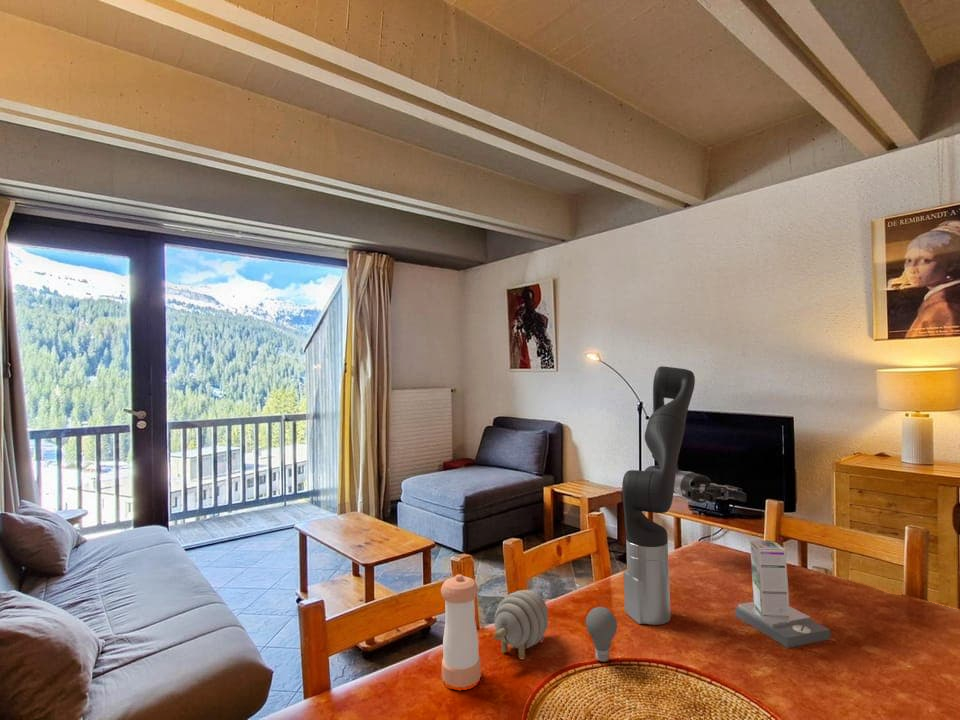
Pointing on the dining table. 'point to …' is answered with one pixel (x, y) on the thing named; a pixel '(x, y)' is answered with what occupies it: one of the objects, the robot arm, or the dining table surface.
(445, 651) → the salt shaker
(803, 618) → the scale pan
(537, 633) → the toy sheep
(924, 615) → the dining table surface
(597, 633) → the light bulb
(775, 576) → the syrup box
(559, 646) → the dining table surface
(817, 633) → the scale base
